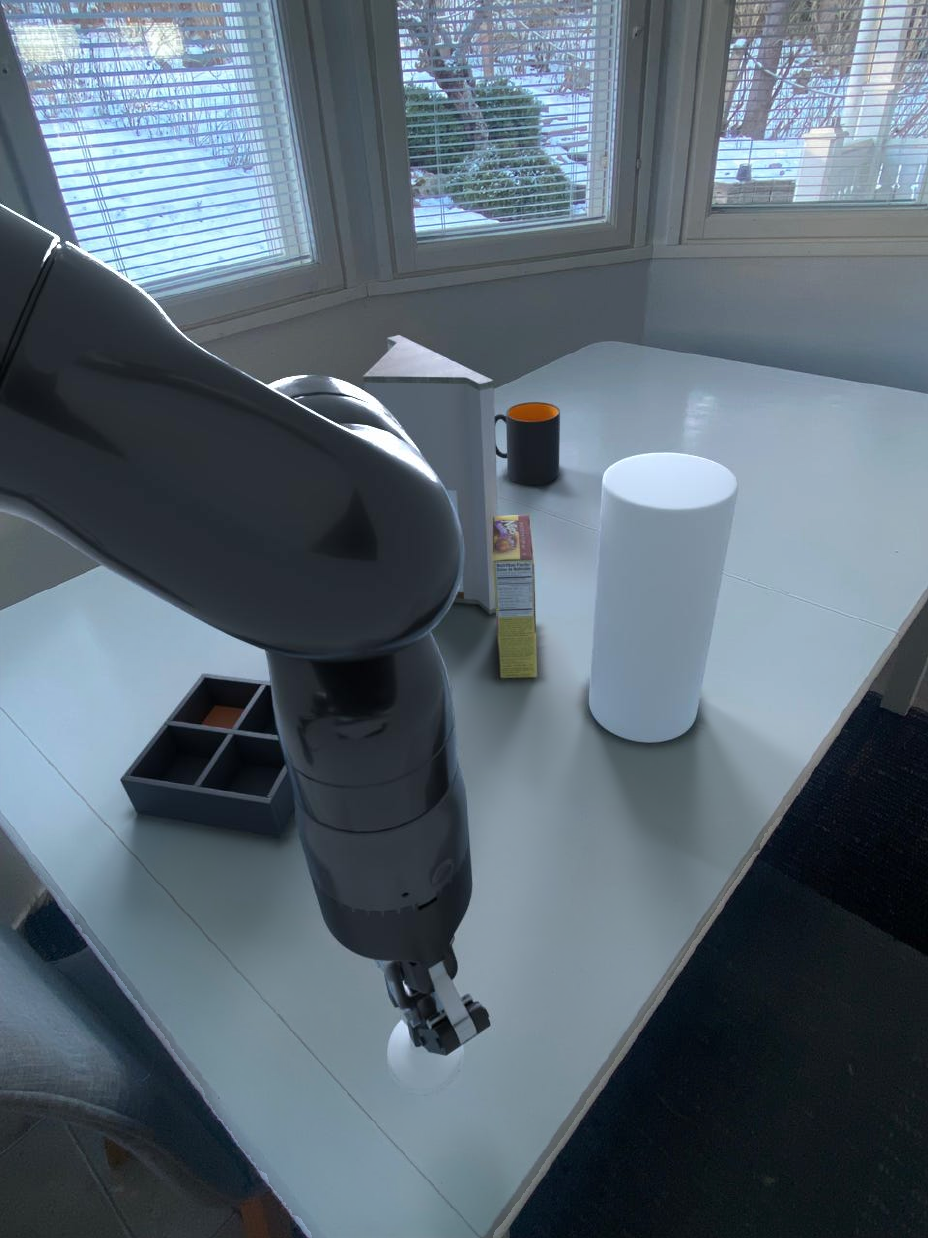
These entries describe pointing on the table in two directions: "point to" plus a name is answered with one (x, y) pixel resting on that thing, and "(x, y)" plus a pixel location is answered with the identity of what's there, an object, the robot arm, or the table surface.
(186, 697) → the tray
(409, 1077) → the chess piece
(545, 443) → the mug
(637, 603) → the tall pillar cylinder
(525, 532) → the candy box
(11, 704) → the table surface
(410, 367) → the cabinet
